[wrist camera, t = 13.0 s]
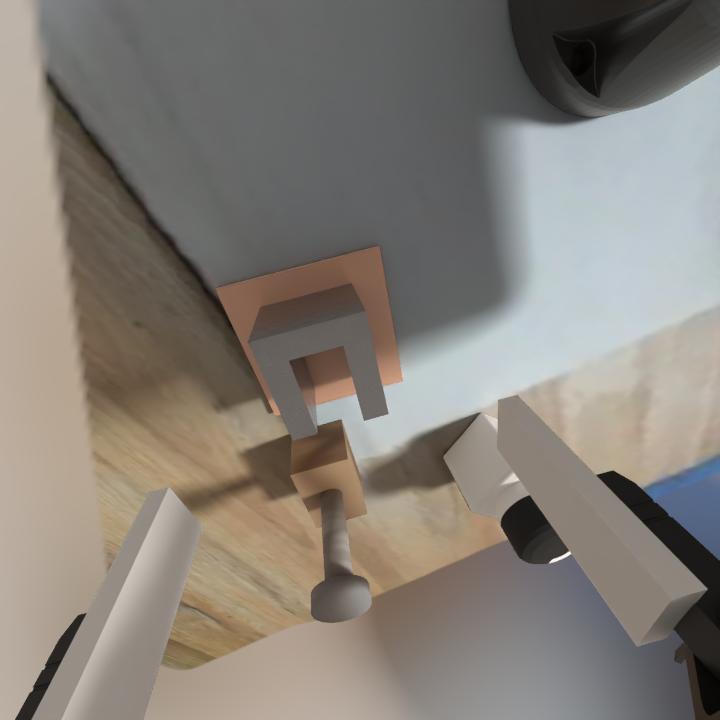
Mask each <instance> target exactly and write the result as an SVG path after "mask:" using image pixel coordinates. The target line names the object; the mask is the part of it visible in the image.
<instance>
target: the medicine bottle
mask: <svg viewBox="0 0 720 720" xmlns="http://www.w3.org/2000/svg"><path fill="white" fill-rule="evenodd" d="M497 428H498V419H496V418H494V417H491V416H489V415H486V414H484V413H481V414H479V415H478V417H477V418H476V419H475V420H474V421H473V422H472V424H471V425H470V426H469V427H468V428H467V429H466V431H465V432H464V433H463V434H462V435H461V436H460V438H459V439H458V440H457V441H456V442H455V443H454V444H453V446H452V447H451V448H450V449H449V450H448V451H447V453H446V454H445V455H444V457H443V458H444V461H445V463H446V465H447V466H448V468H449V470H450V472H451V474H452V476H453V478H454V480H455V482H456V484H457V486H458V488H459V490H460V492H461V493H462V495H463V497H464V499H465V501H466V503H467V505H468V507H469V509H470V511H471V512H472V513H476V514H480V515H484V516H488V517H492V518H496V519H497V521H498V522H499V524H500V526H501V527H502V529H503V531H504V533H505V534H506V536H507V538H508V539H509V541H510V543H511V545H512V546H513V548H514V550H515V551H516V553H517V555H518V556H519V558H520V559H522V560H524V561H526V562H528V563H532V564H547V563H552V562H556V561H558V560H561V559H563V558H565V557H567V556H569V555H570V554H571V553H570V551H569V550H568V548H567V547H566V545H565V544H564V543H563V541H562V540H561V538H560V537H559V536H558V534H557V533H556V531H555V530H554V528H553V527H552V526H551V524H550V523H549V521H548V520H547V519H546V517H545V516H544V514H543V513H542V511H541V510H540V509H539V507H538V506H537V504H536V503H535V502H534V500H533V499H532V497H531V496H530V495H529V493H528V492H527V490H526V489H525V487H524V486H523V485H522V483H521V482H520V480H519V479H518V478H517V476H516V475H515V473H514V472H513V470H512V469H511V468H510V466H509V465H508V463H507V462H506V461H505V459H504V458H503V456H502V455H501V454H500V452H499V451H498V449H497Z"/></svg>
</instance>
